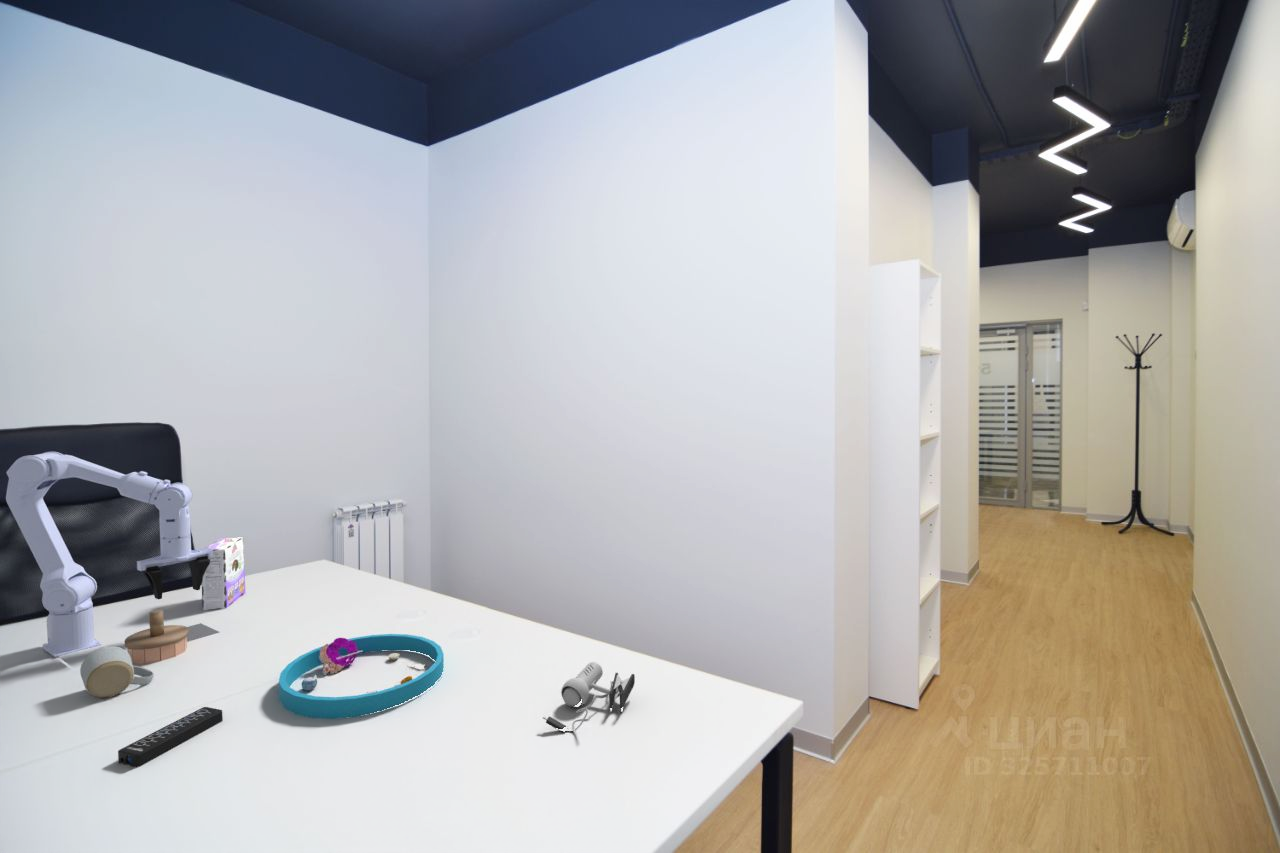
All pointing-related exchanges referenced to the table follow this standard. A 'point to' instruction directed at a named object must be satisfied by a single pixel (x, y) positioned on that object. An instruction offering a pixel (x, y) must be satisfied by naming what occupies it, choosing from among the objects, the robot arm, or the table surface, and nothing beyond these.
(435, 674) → the teal ring
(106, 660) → the ceramic mug
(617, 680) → the clip-on lamp
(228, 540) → the candy box
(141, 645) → the lid
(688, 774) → the table surface
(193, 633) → the mat
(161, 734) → the multiport hub
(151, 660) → the bowl
